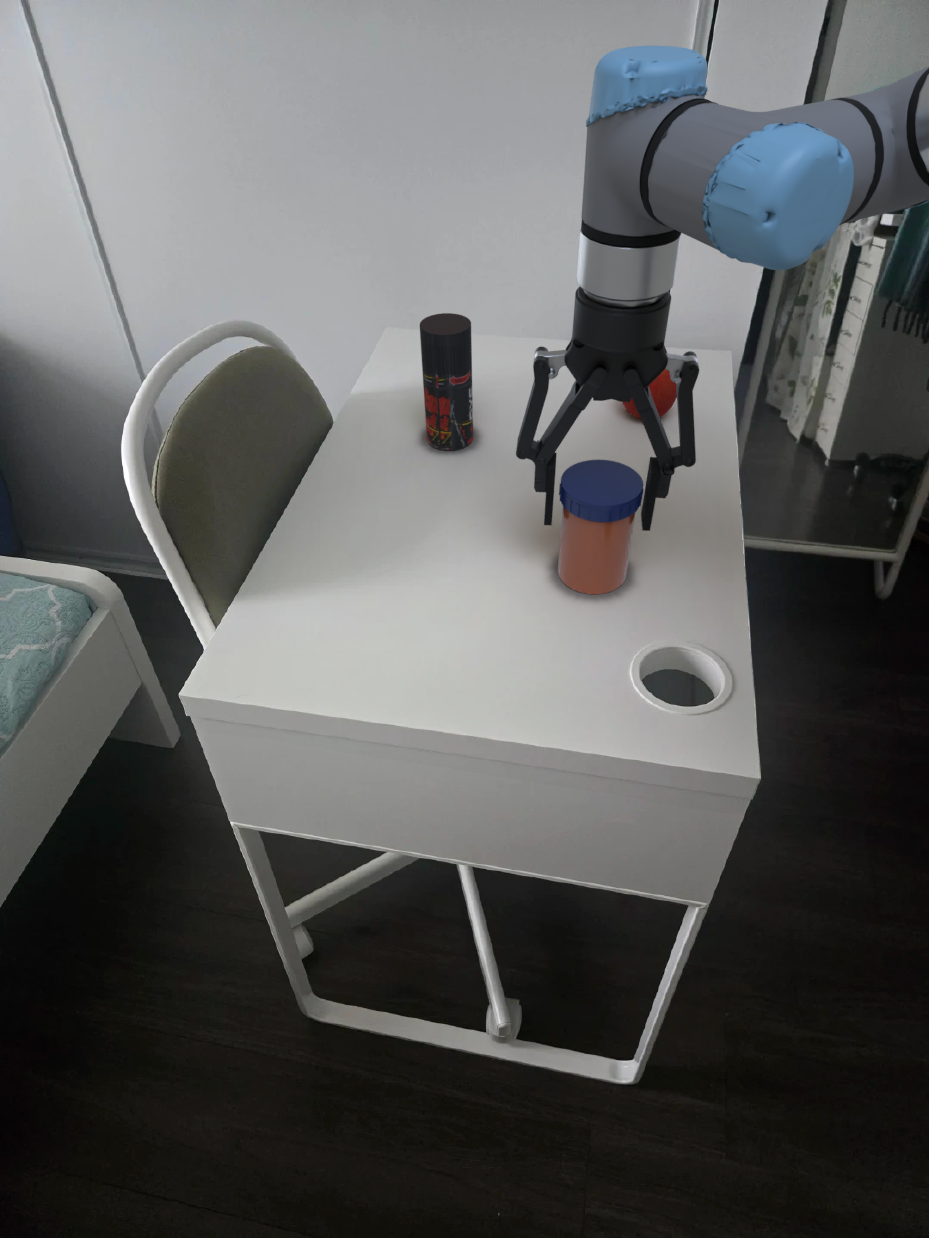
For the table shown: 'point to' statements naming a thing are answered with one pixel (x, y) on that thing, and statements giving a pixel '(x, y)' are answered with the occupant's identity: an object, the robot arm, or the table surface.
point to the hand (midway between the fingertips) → (596, 519)
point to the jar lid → (601, 490)
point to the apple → (658, 395)
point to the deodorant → (447, 380)
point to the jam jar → (594, 553)
